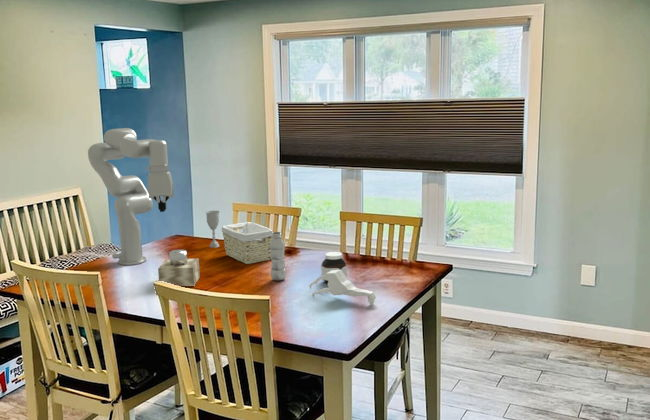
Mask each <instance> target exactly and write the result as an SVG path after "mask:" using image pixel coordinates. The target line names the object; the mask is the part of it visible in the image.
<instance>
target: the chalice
mask: <svg viewBox="0 0 650 420" xmlns="http://www.w3.org/2000/svg"><path fill="white" fill-rule="evenodd" d="M204 212H205V214H206V223H207V225H208V228H209V229H210V230H212V241H211V242H210V244H209V248H219V247H220V244H219V242H218V241H217V240H216V232H215V231H216V229H217V228H218V225H219V222H220V216H219V215H220V211H219V210H208V211H204Z"/></svg>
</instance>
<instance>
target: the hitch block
mask: <svg viewBox="0 0 650 420" xmlns="http://www.w3.org/2000/svg"><path fill="white" fill-rule="evenodd" d="M199 259H200V258H198V257H197V258H187V264H185V265H181V266H172V265H170V258H169V259H167V258H166V259H164V261H163V262H162V263H161V264H160V266H159V267H157V271H158V282H159V281H164V282H167V283H171V284H174V285H179V286H194V287H195V286H196V285H195V284H197V283H198V281H199V279H200V277H201V274H200V273H201V271H200V260H199ZM196 282H197V283H196Z"/></svg>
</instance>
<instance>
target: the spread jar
mask: <svg viewBox="0 0 650 420" xmlns="http://www.w3.org/2000/svg"><path fill="white" fill-rule="evenodd" d="M324 256H325V258H324V260H323V261H322V263H321V266H320V267H321V268H320V270H321V276H324V275H325V274H326V273H328V272H330V271H332V270H342V271H343V273H344V275H345V276H346V278H347V277H348V266H347V261H345V259H344V258H343V253H342V252H339V251H329V252H327V253H325V255H324ZM323 281H324V282H325V283H327V284H328V281H329V280H323Z"/></svg>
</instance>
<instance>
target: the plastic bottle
mask: <svg viewBox="0 0 650 420" xmlns="http://www.w3.org/2000/svg"><path fill="white" fill-rule="evenodd" d="M285 249H286V245H285V242H284V240H283V239H282V232H281V231H275V232H273V233H272V241H271V243H270V252H271V258H272V259H270V260H271V270H270V276H271V277H270V278H271V280H273V281H283V280H285V279H286V278H287V270H286V265H285Z"/></svg>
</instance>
